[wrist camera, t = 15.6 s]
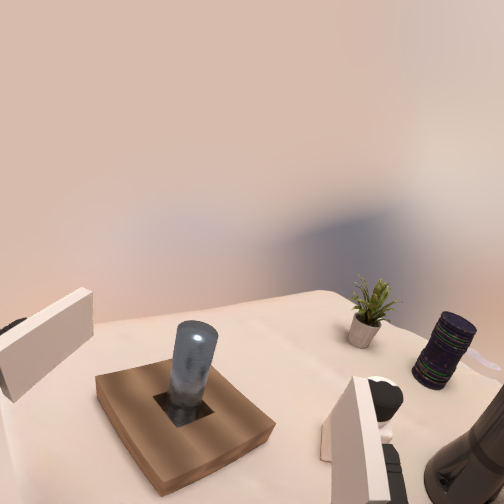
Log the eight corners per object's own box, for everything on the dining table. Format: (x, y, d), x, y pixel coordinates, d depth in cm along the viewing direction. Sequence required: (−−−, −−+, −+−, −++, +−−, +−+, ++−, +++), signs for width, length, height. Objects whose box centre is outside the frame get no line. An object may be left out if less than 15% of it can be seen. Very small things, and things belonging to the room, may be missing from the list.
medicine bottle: (366, 468, 29) (415, 410, 26) (319, 460, 30) (362, 400, 27) (364, 433, 36) (403, 375, 33) (321, 425, 37) (357, 364, 34)
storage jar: (443, 373, 57) (472, 321, 52) (446, 395, 48) (481, 337, 44) (411, 360, 61) (439, 306, 57) (410, 381, 52) (444, 321, 48)
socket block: (193, 371, 43) (197, 351, 42) (266, 441, 33) (276, 423, 31) (97, 397, 31) (95, 376, 30) (161, 496, 21) (163, 482, 20)
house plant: (329, 318, 74) (351, 260, 70) (376, 333, 72) (401, 277, 67) (327, 345, 61) (356, 277, 56) (383, 362, 58) (415, 297, 54)
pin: (183, 409, 34) (202, 317, 30) (201, 430, 32) (226, 338, 28) (157, 418, 32) (169, 324, 27) (175, 440, 29) (192, 348, 25)
